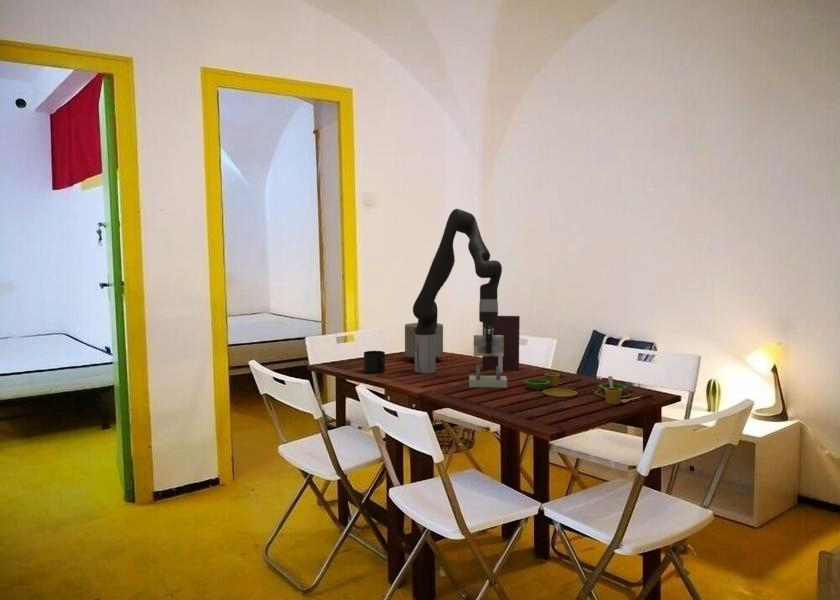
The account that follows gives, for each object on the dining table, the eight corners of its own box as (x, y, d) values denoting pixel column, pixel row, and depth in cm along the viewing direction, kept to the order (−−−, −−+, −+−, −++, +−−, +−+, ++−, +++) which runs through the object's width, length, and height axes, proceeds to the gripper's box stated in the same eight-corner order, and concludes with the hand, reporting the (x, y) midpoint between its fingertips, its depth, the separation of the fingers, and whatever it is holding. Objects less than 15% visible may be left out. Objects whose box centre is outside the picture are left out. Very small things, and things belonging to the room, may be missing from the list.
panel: (473, 356, 256) (473, 336, 255) (473, 354, 260) (473, 335, 260) (503, 356, 255) (504, 336, 254) (503, 354, 259) (503, 335, 259)
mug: (374, 375, 279) (374, 355, 278) (359, 371, 288) (359, 351, 288) (392, 373, 285) (392, 353, 284) (377, 369, 294) (377, 350, 293)
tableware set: (649, 400, 234) (649, 383, 233) (597, 410, 218) (597, 392, 218) (565, 381, 268) (566, 366, 268) (516, 389, 253) (516, 373, 252)
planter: (450, 360, 318) (450, 324, 317) (424, 365, 304) (424, 327, 303) (423, 356, 331) (423, 321, 330) (396, 361, 317) (396, 324, 316)
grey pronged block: (469, 387, 254) (469, 369, 254) (469, 382, 263) (469, 365, 263) (507, 387, 253) (507, 370, 253) (505, 383, 262) (506, 366, 262)
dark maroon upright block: (518, 369, 293) (519, 315, 291) (520, 373, 283) (520, 317, 281) (482, 369, 294) (482, 315, 292) (482, 373, 285) (482, 317, 283)
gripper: (498, 311, 249) (498, 355, 250) (497, 308, 263) (497, 349, 264) (479, 311, 250) (479, 355, 251) (479, 308, 264) (478, 349, 265)
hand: (488, 352), depth 258 cm, fingers closed on panel, 4 cm apart
